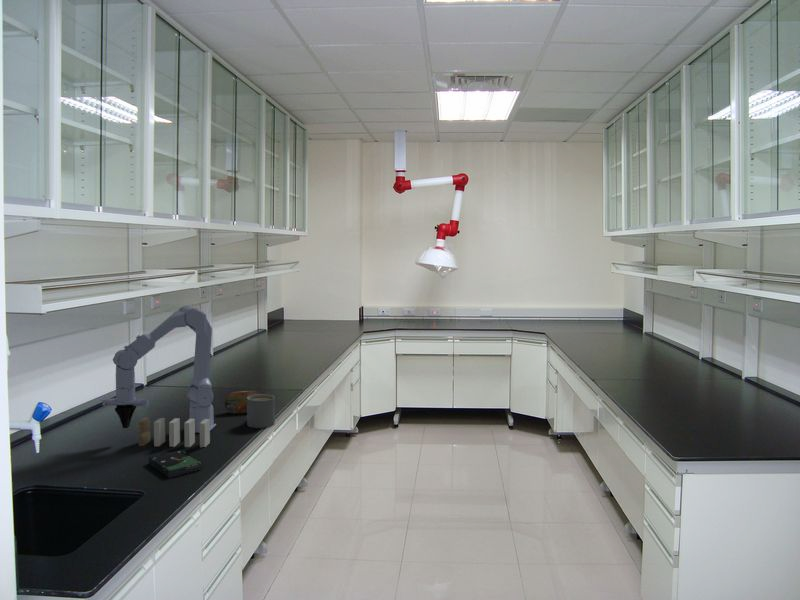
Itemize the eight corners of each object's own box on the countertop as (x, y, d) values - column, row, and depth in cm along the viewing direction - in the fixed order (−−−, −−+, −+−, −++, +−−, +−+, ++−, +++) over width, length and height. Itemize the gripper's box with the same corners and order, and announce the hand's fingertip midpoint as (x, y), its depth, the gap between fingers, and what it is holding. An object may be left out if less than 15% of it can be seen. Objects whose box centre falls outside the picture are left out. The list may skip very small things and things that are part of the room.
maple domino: (138, 445, 199) (138, 421, 198) (145, 440, 204) (145, 417, 203) (143, 445, 199) (143, 422, 198) (150, 441, 204) (149, 417, 203)
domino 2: (169, 446, 199) (169, 422, 198) (175, 441, 204) (174, 418, 203) (174, 446, 199) (173, 422, 198) (180, 441, 204) (179, 418, 203)
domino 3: (184, 447, 199) (184, 423, 198) (190, 442, 204) (189, 418, 203) (189, 447, 199) (189, 423, 198) (194, 442, 204) (194, 418, 203)
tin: (224, 414, 237) (224, 393, 236) (224, 412, 240) (223, 391, 239) (264, 411, 242) (264, 390, 242) (262, 409, 245) (262, 388, 245)
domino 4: (199, 447, 199) (199, 423, 198) (205, 442, 204) (204, 419, 203) (204, 447, 199) (204, 423, 198) (209, 442, 204) (209, 419, 203)
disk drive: (148, 466, 183) (169, 479, 173) (147, 457, 183) (168, 470, 172) (181, 458, 191) (203, 470, 180) (181, 449, 190) (203, 461, 180)
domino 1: (154, 446, 199) (153, 422, 198) (160, 441, 204) (160, 417, 203) (159, 446, 199) (158, 422, 198) (165, 441, 204) (164, 418, 203)
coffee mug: (273, 427, 221) (273, 400, 221) (245, 428, 220) (245, 401, 219) (275, 417, 235) (276, 391, 234) (249, 417, 233) (249, 392, 232)
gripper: (97, 388, 196) (98, 430, 197) (142, 390, 196) (142, 431, 197) (108, 383, 203) (108, 423, 204) (151, 385, 203) (151, 425, 204)
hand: (126, 427), depth 201 cm, fingers closed
